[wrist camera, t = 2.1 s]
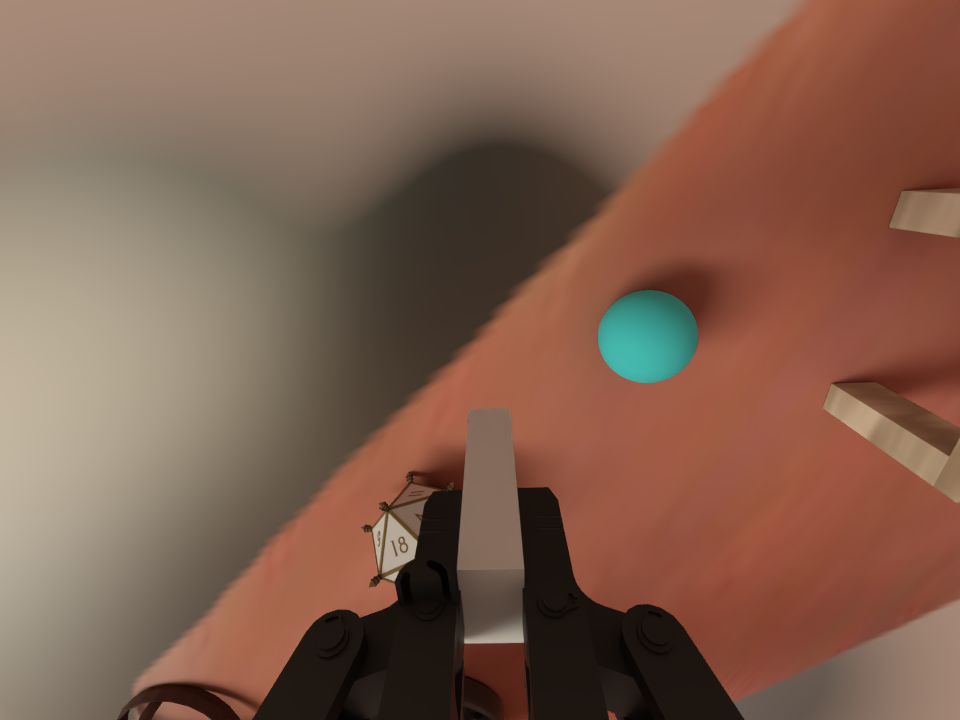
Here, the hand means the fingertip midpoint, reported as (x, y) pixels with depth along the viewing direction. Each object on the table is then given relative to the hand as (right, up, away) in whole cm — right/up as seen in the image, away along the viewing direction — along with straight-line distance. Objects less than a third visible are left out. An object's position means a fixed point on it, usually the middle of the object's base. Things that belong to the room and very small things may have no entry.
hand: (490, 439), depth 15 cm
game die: (-4, -8, +18) cm, 21 cm away
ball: (+10, +4, +9) cm, 14 cm away
